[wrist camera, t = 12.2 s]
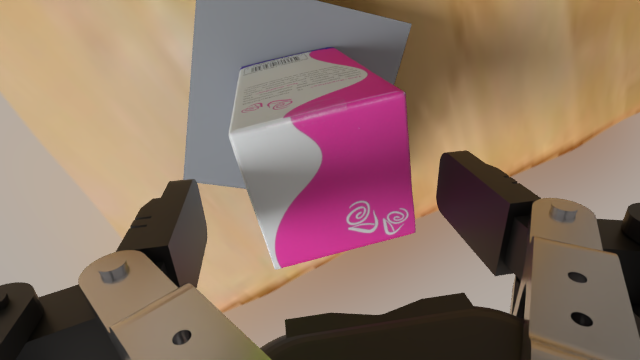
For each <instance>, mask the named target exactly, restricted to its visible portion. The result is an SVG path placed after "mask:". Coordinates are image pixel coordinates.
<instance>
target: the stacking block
mask: <svg viewBox="0 0 640 360" xmlns="http://www.w3.org/2000/svg"><path fill="white" fill-rule="evenodd" d="M411 25H412V24H410V23H406V22H402V21H398V20H394V19H390V18H386V17H382V16H378V15H374V14H370V13H365V12H361V11H357V10H353V9H349V8H345V7H341V6H337V5H333V4H329V3H325V2H321V1H317V0H196V9H195V23H194V38H193V52H192V66H191V80H190V94H189V108H188V122H187V136H186V151H185V165H184V179H183V180H188V179H195V180H196V182H197V183H204V184H212V185H220V186H228V187H236V188H244V189H246V186H245V183H244V180H243V177H242V174H241V171H240V168H239V166H238V163H237V160H236V157H235V154H234V151H233V148H232V145H231V142H230V139H229V128H230V123H231V118H232V112H233V106H234V101H235V95H236V89H237V82H238V77H239V72H240V67H243V66H247V65H251V64H255V63H259V62H263V61H267V60H271V59H276V58H280V57H285V56H289V55H293V54H298V53H302V52H307V51H311V50H316V49H321V48H326V47H334V48H335V49H337V50H339V51H340V52H342V53H343V54H345V55H346V56H348V57H349V58H351V59H353V60H354V61H356V62H357V63H359V64H361V65H362V66H364V67H366V68H367V69H368V70H370V71H371V72H373V73H375V74H376V75H378V76H380V77H381V78H383V79H384V80H386V81H388V82H389V83H391V84H393V85H394V83H395V80H396V76H397V73H398V70H399V66H400V63H401V59H402V56H403V52H404V49H405V45H406V42H407V38H408V35H409V31H410V28H411Z"/></svg>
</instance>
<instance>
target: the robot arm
mask: <svg viewBox="0 0 640 360" xmlns="http://www.w3.org/2000/svg"><path fill="white" fill-rule="evenodd" d="M436 199H437V205H438V208H439V210H440V212H441V213H442V215H443V216H444V217H445V218H446V219H447V221H448V222H449V223H450V224H451V225H452V226H453V228H454V229H455V230H456V231H457V232H458V233H459V234H460V236H461V237H462V238H463V239H464V240H465V241H466V243H467V244H468V245H469V246H470V247H471V249H472V250H473V251H474V252H475V253H476V254H477V256H478V257H479V258H480V259H481V260H482V261H483V262H484V264H485V265H486V266H487V267H488V268H489V269H490V271H491V272H492V273H493V274H494V275H495V276H498V275H505V274H512V273H514V274H515V280H514V284H513V289H512V298H511V306H510V314H509V313H505V312H502V311H499V310H494V309H490V308H484V307H477V306H473V305H472V303H471V302H470V301H469V299H468V298H467V297H466V295H465V293H459V294H452V295H446V296H439V297H433V298H425V299H421V300H418V301H416V302H413V303H411V304H408V305H406V306H403V307H400V308H398V309H396V310H393V311H390V312H388V313H386V314H382V315H362V314H344V313H326V314H319V315H313V316H306V317H300V318H293V319H286V320H285V325H286V326H285V327H286V335H284V336H281V337H279V338H277V339H275V340H273V341H271V342H269V343H267V344H266V345H264V346H263V347H261V348H259V347H258V346H256V344H255V343H253V342H252V341H251V340H250V339H249V338H248V337H247V336H246V335H245V334H244V333H243V332H242V331H241V330H240V329H239V328H238V327H236V326H235V325H234V324H233V323H232V322H231V321H230V320H229V319H228V318H227V317H226V316H225V315H224V314H223V313H222V312H221V311H219V310H218V309H217V308H216V307H215V306H214V305H213V304H212V303H211V302H210V301H209V300H208V299H207V298H206V297H205V296H204V295H203V294H201V293H200V292H199V291H198V290H197V289H196V288H197V283H198V279H199V274H200V270H201V265H202V260H203V256H204V251H205V247H206V242H207V226H206V220H205V216H204V211H203V207H202V202H201V198H200V193H199V189H198V185H197V182H196V180H195V179H188V180H179V181H170V182H169V183H168V185H167V187H166V189H165V191H164V193H163V195H162V197H161V198H155V199H152V200H151V201H150V202H148V203H147V204H146V205H144V206H143V207H142V208H141V209H140V211H139V212H138V214H137V216H136V218H135V220H134V221H133V223H132V225H131V226H130V227H131V229H129V230H128V232H127V233H126V235H125V237H124V239H123V240H122V242H121V244H120V246H119V247H118V249H117V251H116V252H114V253H112V254H109V255H106V256H104V257H102V258H99V259H98V260H96V261H94V262H93V263H91V264H90V265H89V266H88V267H86V268H85V269H84V270H83V272H82V273H81V275H80V276H79V279H78V283H79V284H78V285H75V286H73V287H70V288H67V289H64V290H61V291H58V292H54V293H51V294H48V295H45V296H42V297H39V298H38V296H37V294H36V292H35V290H34V288H33V287H32V286H31V285H30V284H27V283H10V284H5V285H1V286H0V360H640V203H635V204H632V205H630V206H629V207H628V209H627V212H626V214H625V217H624V219H623V220H606V219H596V216H595V215H594V213H593V212H592V211H591V210H590V209H588V208H587V207H585V206H583V205H581V204H578V203H576V202H573V201H569V200H565V199H558V198H543V199H541V198H540V197H538V196H537V195H535V194H534V193H533V192H531V191H530V190H528V189H527V188H525V187H524V186H523V185H521V184H520V183H517V181H515V180H514V179H513V178H511V177H509V176H508V175H507V174H505V173H504V172H503V171H501V170H500V169H498V168H496V167H493V166H491V165H488V164H485V163H484V162H482V161H481V160H480V159H478V158H477V157H476V156H474V155H473V154H471V153H470V152H469V151H457V152H447V153H443V154H442V156H441V159H440V165H439V175H438V185H437V194H436Z"/></svg>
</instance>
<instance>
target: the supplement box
mask: <svg viewBox="0 0 640 360" xmlns="http://www.w3.org/2000/svg"><path fill="white" fill-rule="evenodd" d="M229 139H230V142H231V145H232V148H233V151H234V154H235V157H236V160H237V163H238V166H239V168H240V171H241V174H242V177H243V180H244V183H245V186H246V189H247V192H248V194H249V197H250V200H251V203H252V206H253V208H254V211H255V214H256V217H257V220H258V223H259V225H260V228H261V231H262V234H263V237H264V239H265V242H266V245H267V248H268V251H269V253H270V256H271V259H272V262H273V265H274V268H275V269H280V268H283V267H287V266H291V265H295V264H298V263H302V262H306V261H310V260H314V259H318V258H321V257H325V256H329V255H333V254H336V253H340V252H344V251H348V250H351V249H355V248H358V247H363V246H366V245H369V244H374V243H378V242H382V241H386V240H390V239H393V238H397V237H400V236H404V235H408V234H412V233H415V215H414V205H413V196H412V184H411V167H410V151H409V136H408V123H407V106H406V94H405V92H404V91H402V90H401V89H399V88H397V87H396V86H394V85H393V84H391V83H389V82H388V81H386V80H384V79H383V78H381V77H380V76H378V75H376V74H375V73H373V72H371V71H370V70H368V69H367V68H366V67H364V66H362V65H361V64H359V63H357V62H356V61H354V60H353V59H351V58H349V57H348V56H346V55H345V54H343V53H342V52H340V51H339V50H337V49H335V48H334V47H326V48H321V49H316V50H311V51H307V52H302V53H298V54H293V55H289V56H285V57H280V58H276V59H271V60H267V61H263V62H259V63H255V64H251V65H247V66H243V67H240V72H239V77H238V82H237V89H236V95H235V101H234V106H233V112H232V118H231V123H230V128H229Z"/></svg>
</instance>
